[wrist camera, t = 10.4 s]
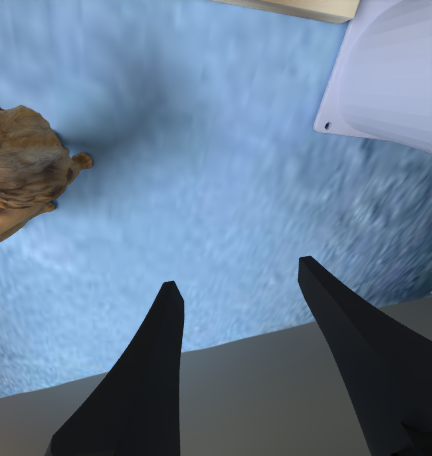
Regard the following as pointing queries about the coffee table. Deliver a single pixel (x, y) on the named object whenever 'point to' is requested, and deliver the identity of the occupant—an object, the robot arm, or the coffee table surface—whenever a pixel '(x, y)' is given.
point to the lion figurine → (31, 168)
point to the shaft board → (305, 8)
